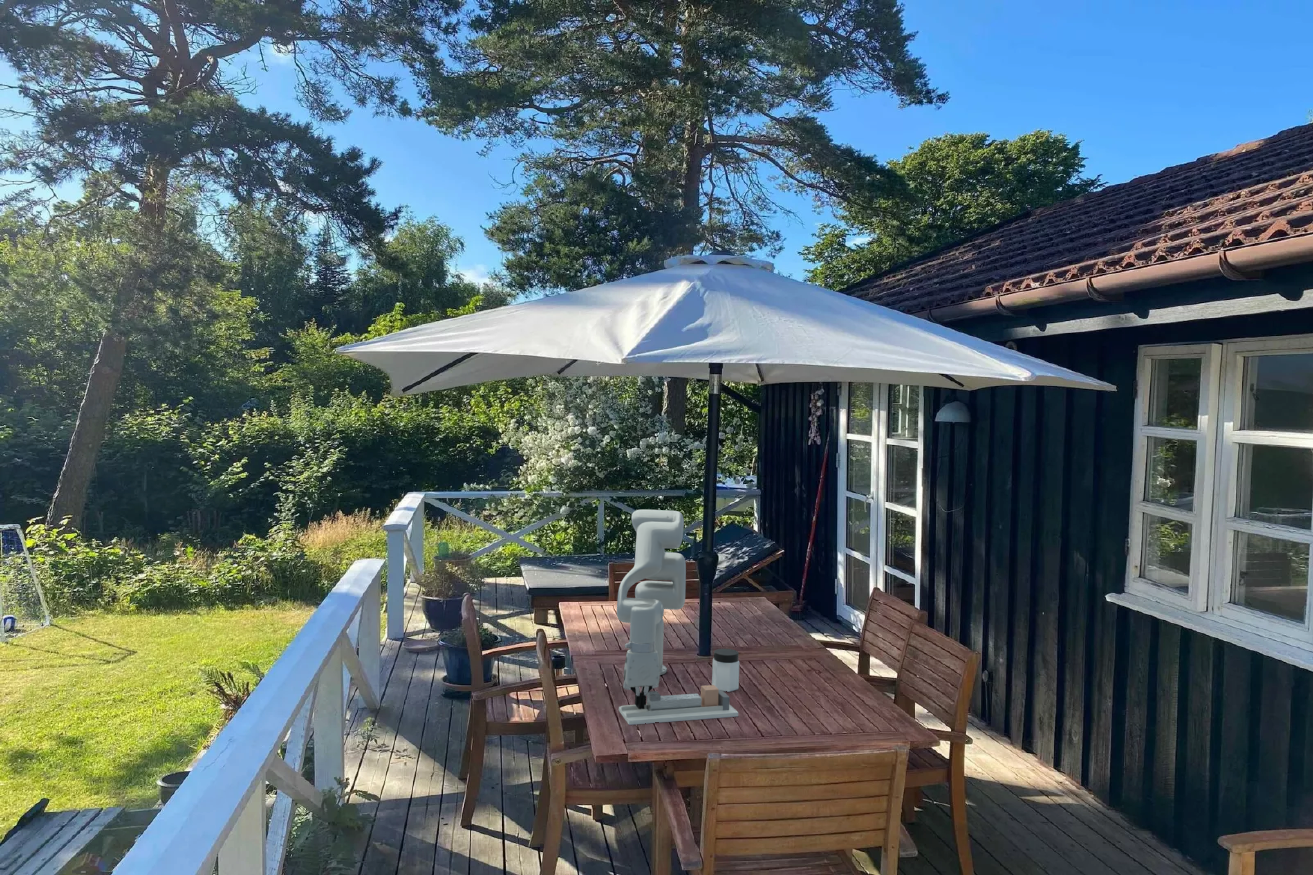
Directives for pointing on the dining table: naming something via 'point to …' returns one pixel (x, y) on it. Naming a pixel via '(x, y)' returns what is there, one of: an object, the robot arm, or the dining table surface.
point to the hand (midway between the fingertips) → (640, 707)
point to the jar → (725, 669)
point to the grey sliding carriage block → (672, 701)
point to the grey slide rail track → (678, 712)
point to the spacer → (709, 695)
